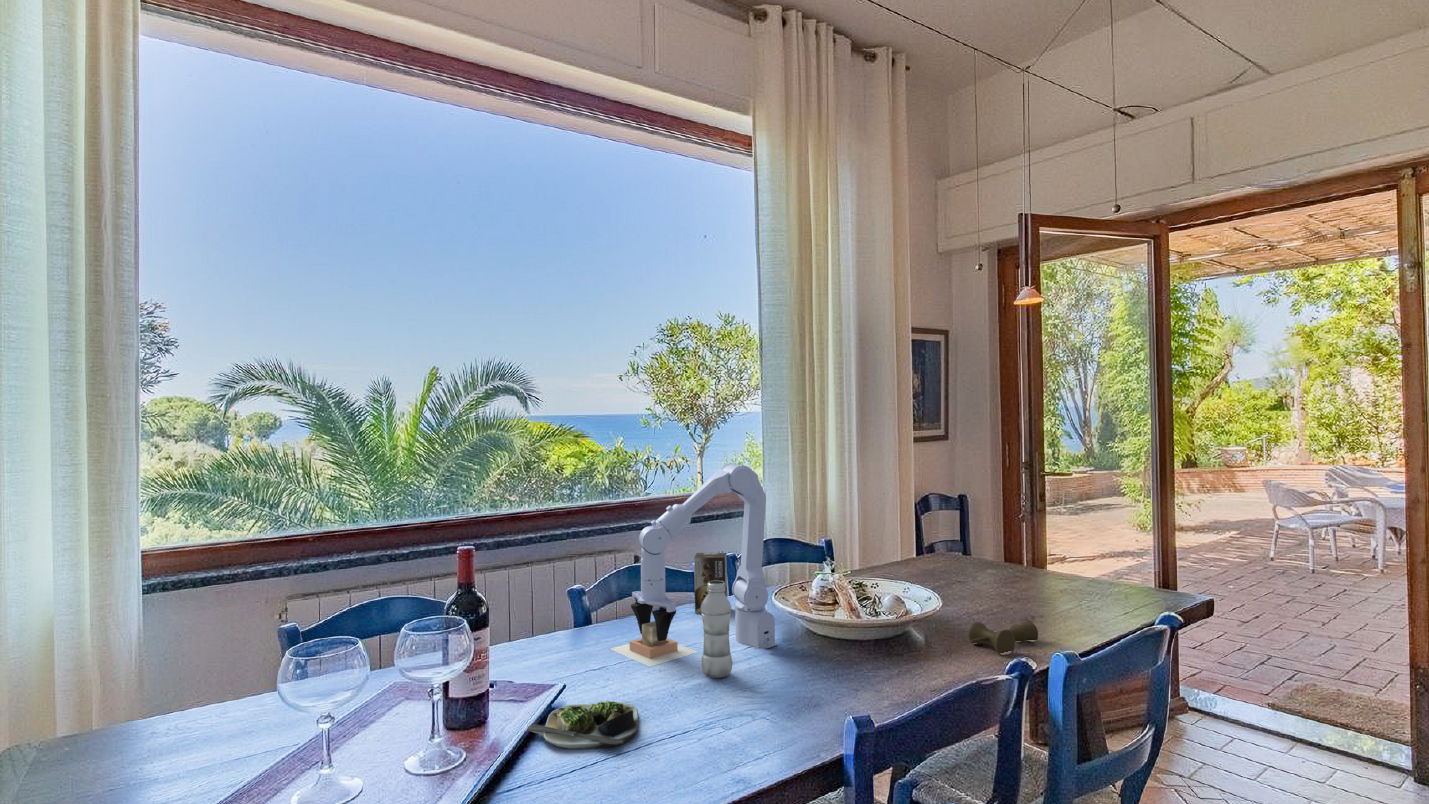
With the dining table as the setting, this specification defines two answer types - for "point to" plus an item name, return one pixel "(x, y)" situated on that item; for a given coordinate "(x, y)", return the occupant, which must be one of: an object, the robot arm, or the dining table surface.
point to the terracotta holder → (653, 648)
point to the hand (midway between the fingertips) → (653, 636)
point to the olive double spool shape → (1002, 635)
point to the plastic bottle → (716, 631)
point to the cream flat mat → (656, 660)
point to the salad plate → (590, 725)
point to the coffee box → (708, 574)
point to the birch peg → (650, 635)
